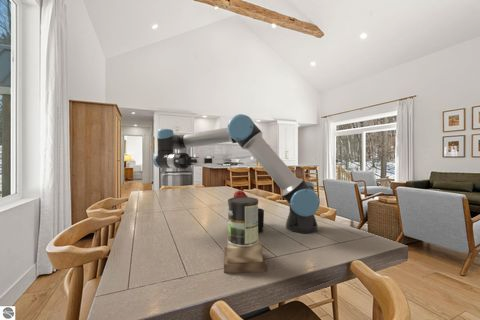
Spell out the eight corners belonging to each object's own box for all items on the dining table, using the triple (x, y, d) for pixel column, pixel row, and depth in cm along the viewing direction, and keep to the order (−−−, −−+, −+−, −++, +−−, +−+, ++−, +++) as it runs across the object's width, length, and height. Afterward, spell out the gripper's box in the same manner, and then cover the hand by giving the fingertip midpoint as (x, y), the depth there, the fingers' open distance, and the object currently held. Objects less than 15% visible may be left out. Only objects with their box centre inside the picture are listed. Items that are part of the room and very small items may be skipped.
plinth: (259, 253, 80) (259, 234, 80) (266, 271, 67) (266, 248, 67) (224, 254, 79) (224, 235, 79) (224, 272, 66) (223, 249, 66)
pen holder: (241, 228, 108) (241, 208, 108) (259, 226, 111) (259, 207, 111) (248, 235, 99) (248, 213, 99) (267, 232, 102) (267, 211, 102)
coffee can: (228, 248, 68) (228, 202, 68) (227, 236, 78) (227, 197, 78) (261, 246, 68) (260, 202, 68) (256, 235, 79) (255, 196, 79)
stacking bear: (248, 227, 110) (247, 192, 110) (228, 226, 112) (228, 191, 112) (251, 221, 121) (251, 189, 121) (233, 220, 123) (233, 189, 123)
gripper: (197, 167, 114) (231, 168, 103) (157, 169, 93) (193, 171, 81) (197, 153, 114) (230, 152, 103) (156, 152, 93) (193, 151, 81)
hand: (214, 160), depth 92 cm, fingers open, 13 cm apart
